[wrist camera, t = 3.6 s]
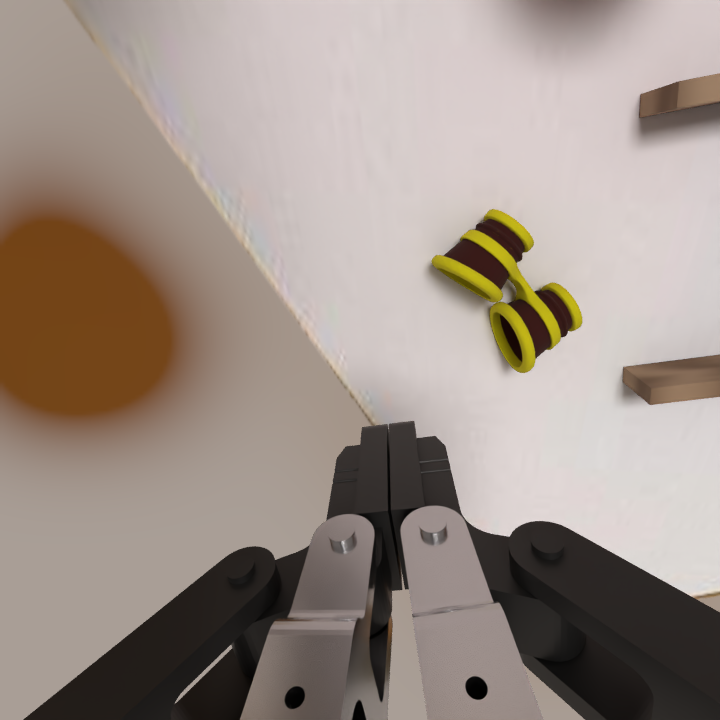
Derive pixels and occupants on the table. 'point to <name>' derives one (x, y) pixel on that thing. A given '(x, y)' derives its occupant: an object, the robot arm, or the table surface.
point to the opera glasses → (530, 309)
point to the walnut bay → (694, 373)
